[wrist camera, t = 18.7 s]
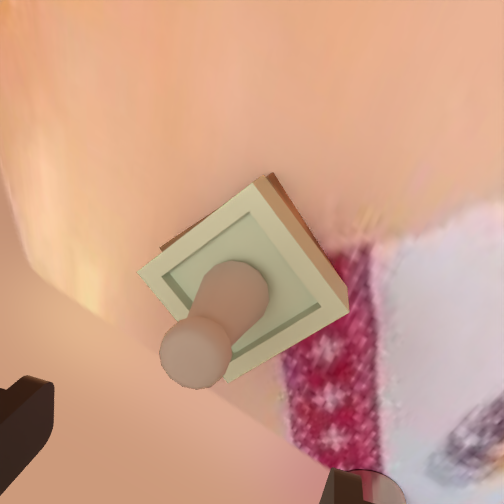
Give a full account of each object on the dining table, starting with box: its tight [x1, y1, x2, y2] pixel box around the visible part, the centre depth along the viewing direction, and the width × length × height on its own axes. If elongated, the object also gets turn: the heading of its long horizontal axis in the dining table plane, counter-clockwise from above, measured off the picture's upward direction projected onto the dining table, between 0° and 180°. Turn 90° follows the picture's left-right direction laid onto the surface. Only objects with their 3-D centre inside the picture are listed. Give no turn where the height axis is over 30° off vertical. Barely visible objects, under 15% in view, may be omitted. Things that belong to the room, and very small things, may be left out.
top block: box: [137, 174, 349, 383], centre depth 37 cm, size 13×13×6 cm
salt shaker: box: [159, 260, 269, 390], centre depth 30 cm, size 6×6×13 cm
